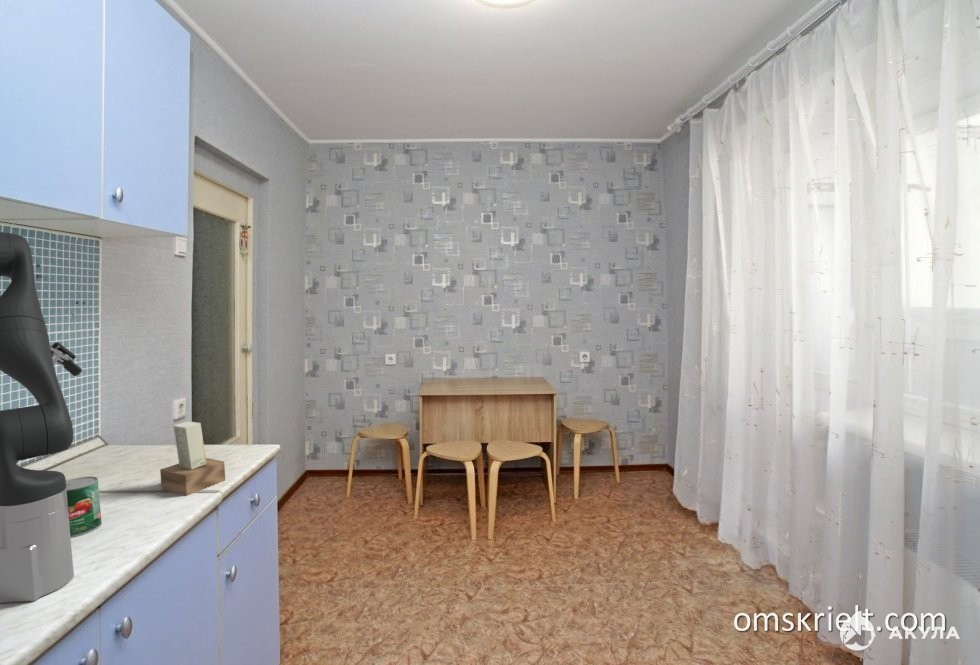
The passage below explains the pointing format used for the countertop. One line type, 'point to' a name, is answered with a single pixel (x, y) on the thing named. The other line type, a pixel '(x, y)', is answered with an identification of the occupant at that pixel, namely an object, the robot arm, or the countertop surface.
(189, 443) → the skincare box
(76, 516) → the canned tomato
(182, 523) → the countertop surface
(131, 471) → the countertop surface
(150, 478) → the countertop surface
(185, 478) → the walnut block
